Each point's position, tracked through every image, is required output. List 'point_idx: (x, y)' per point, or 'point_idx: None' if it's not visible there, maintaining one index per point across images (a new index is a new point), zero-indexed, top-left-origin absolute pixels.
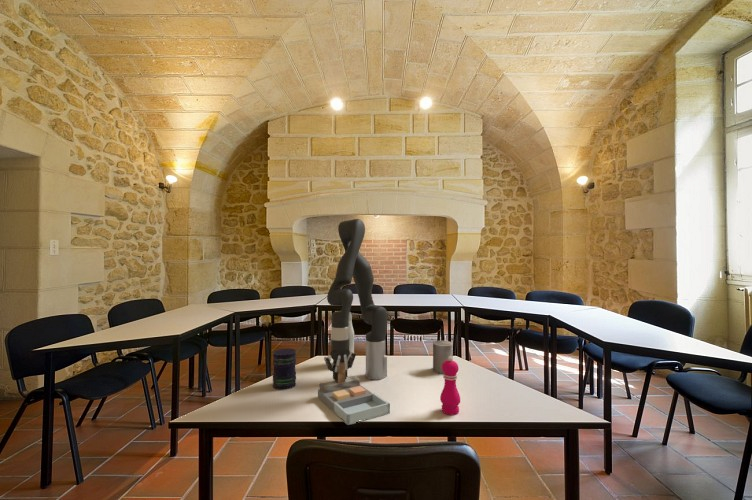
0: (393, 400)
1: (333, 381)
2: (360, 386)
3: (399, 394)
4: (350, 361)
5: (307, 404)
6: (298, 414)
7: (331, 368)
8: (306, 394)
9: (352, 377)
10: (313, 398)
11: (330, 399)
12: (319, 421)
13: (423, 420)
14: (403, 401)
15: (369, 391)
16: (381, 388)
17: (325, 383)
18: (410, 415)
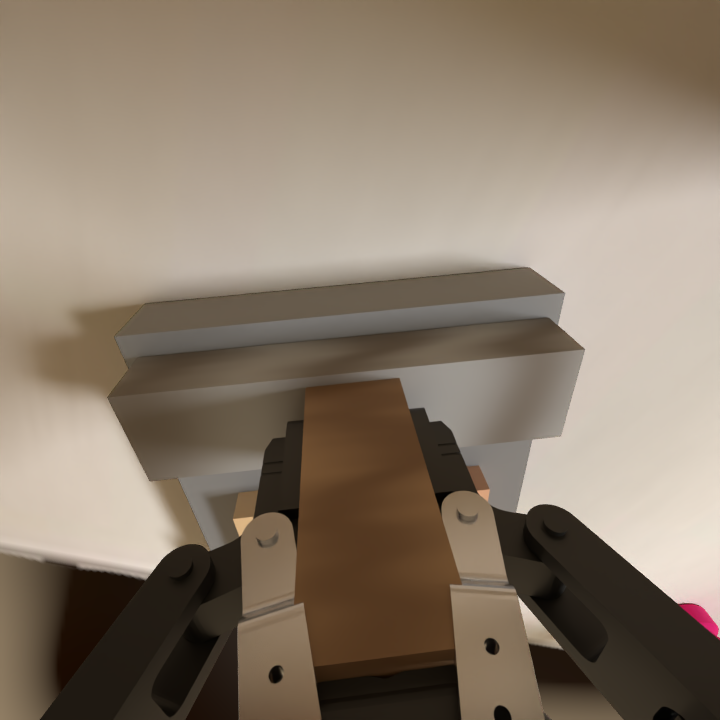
0: (588, 512)
1: (283, 396)
2: (486, 498)
3: (680, 468)
4: (587, 667)
5: (53, 399)
6: (4, 497)
7: (194, 656)
8: (14, 188)
9: (536, 368)
10: (102, 315)
11: (211, 528)
12: (141, 574)
13: (538, 639)
14: (616, 531)
15: (515, 504)
16: (690, 353)
17: (178, 416)
18: (530, 613)
